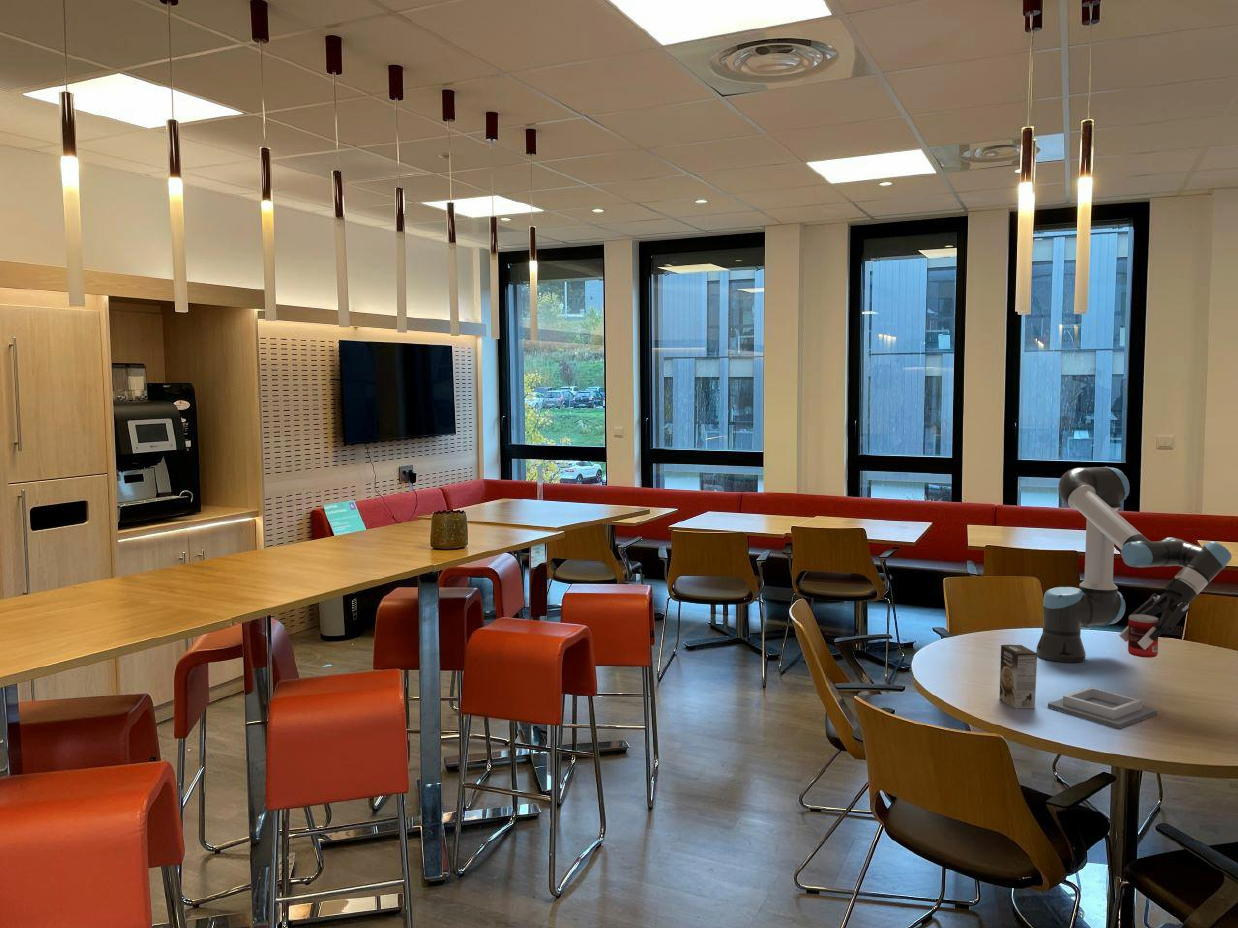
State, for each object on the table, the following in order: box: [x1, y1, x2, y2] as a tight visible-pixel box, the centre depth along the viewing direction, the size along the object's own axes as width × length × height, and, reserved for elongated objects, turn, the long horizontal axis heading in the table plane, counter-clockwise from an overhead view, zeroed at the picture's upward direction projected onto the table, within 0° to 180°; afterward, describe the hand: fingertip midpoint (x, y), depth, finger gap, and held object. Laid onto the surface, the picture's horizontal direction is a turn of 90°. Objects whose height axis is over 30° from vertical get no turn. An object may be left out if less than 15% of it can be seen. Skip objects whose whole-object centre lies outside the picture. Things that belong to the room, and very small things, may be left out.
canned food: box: [1127, 614, 1159, 659], centre depth 265 cm, size 8×8×11 cm
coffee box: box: [999, 644, 1038, 709], centre depth 260 cm, size 9×6×16 cm
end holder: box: [1047, 686, 1158, 730], centre depth 254 cm, size 20×20×4 cm
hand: (1131, 642), depth 265 cm, fingers closed on canned food, 8 cm apart
